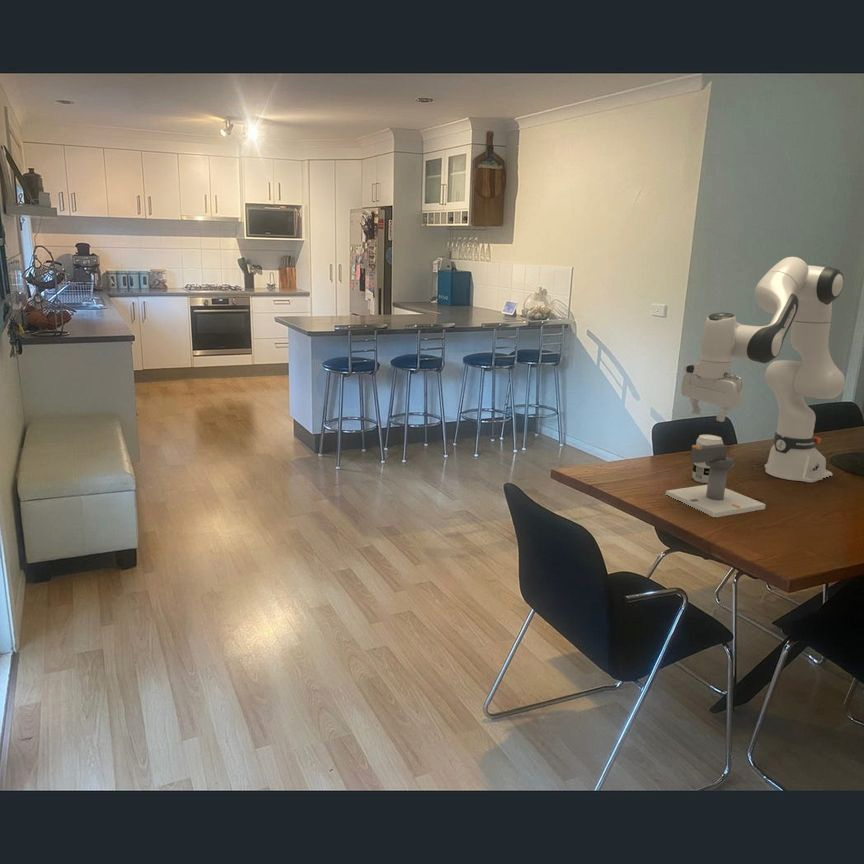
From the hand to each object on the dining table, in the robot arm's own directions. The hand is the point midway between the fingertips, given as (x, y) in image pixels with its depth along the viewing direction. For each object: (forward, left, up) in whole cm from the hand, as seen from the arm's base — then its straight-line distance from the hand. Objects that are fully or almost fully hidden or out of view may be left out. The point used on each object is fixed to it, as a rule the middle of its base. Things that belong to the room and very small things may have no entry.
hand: (707, 417), depth 204 cm
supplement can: (-20, -17, -27) cm, 38 cm away
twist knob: (-4, 0, -15) cm, 16 cm away
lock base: (-7, 0, -27) cm, 28 cm away
